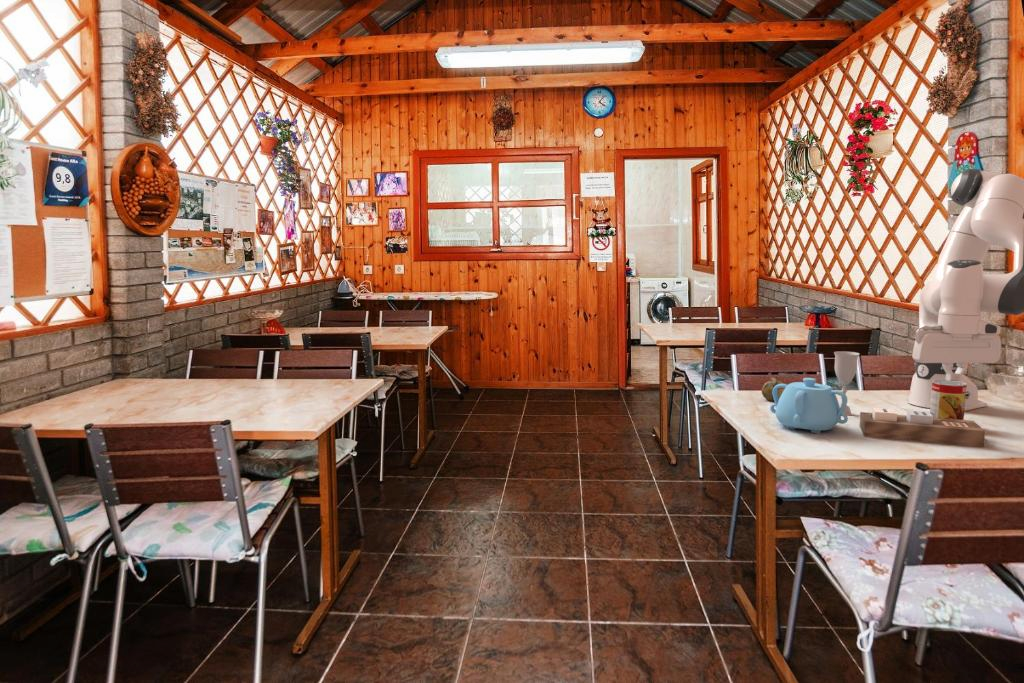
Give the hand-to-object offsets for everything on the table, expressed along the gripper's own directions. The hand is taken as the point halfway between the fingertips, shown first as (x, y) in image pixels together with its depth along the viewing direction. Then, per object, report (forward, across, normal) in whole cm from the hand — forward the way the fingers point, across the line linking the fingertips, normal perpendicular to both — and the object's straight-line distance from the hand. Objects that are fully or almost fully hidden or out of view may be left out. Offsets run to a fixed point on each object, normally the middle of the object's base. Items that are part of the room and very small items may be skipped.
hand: (953, 380), depth 168 cm
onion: (+15, -26, +46) cm, 55 cm away
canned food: (+15, +8, +13) cm, 22 cm away
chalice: (+15, -13, +28) cm, 34 cm away
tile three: (+14, +1, 0) cm, 14 cm away
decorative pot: (+15, -31, +11) cm, 36 cm away
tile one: (+12, -14, +6) cm, 19 cm away
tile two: (+12, -6, +3) cm, 14 cm away
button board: (+15, -6, +2) cm, 17 cm away
